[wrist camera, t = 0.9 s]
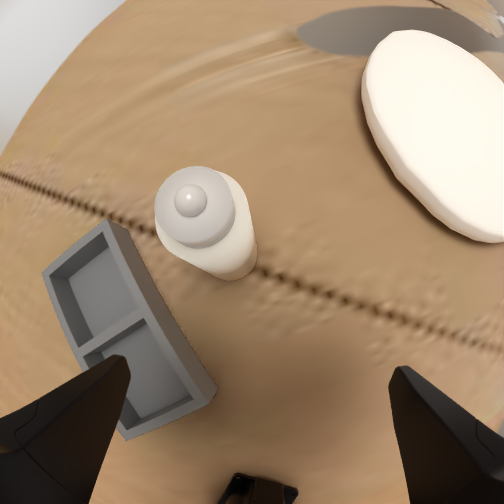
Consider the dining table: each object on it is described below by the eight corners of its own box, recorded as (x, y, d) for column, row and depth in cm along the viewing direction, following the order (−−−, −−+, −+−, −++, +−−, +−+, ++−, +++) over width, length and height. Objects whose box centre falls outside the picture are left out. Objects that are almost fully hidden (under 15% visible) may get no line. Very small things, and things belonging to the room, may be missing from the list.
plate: (558, 258, 17) (368, 206, 20) (525, 261, 24) (347, 221, 26) (521, 67, 19) (360, -7, 22) (502, 86, 26) (352, 26, 28)
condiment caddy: (218, 388, 22) (209, 403, 18) (143, 424, 22) (125, 440, 18) (127, 230, 25) (106, 218, 21) (66, 277, 25) (41, 272, 21)
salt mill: (245, 288, 24) (216, 270, 10) (195, 268, 24) (116, 228, 11) (265, 237, 24) (261, 161, 11) (216, 219, 25) (164, 134, 12)
